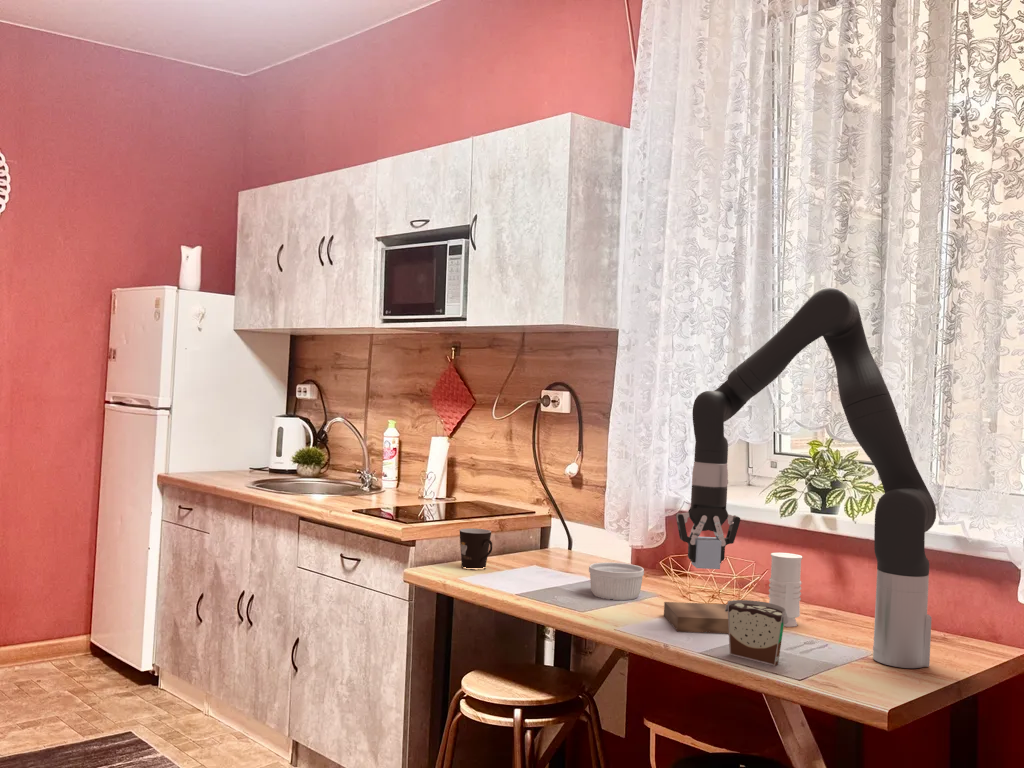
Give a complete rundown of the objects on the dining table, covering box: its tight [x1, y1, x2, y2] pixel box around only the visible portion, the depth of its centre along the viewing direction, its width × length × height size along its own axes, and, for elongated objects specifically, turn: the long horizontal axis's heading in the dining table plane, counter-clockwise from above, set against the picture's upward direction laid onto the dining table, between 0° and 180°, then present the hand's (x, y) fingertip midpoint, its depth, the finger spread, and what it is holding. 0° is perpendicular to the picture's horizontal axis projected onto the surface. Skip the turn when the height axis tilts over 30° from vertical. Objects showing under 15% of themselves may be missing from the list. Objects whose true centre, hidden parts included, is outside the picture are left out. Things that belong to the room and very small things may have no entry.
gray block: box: [690, 536, 721, 570], centre depth 204 cm, size 5×5×6 cm
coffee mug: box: [459, 527, 493, 568], centre depth 254 cm, size 12×9×10 cm
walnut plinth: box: [663, 601, 729, 634], centre depth 204 cm, size 14×14×3 cm
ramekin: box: [588, 561, 645, 601], centre depth 229 cm, size 13×13×7 cm
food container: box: [725, 599, 788, 667], centre depth 180 cm, size 12×6×10 cm, turn 48°
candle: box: [768, 552, 803, 628], centre depth 209 cm, size 7×7×15 cm
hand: (705, 562), depth 204 cm, fingers closed on gray block, 5 cm apart
